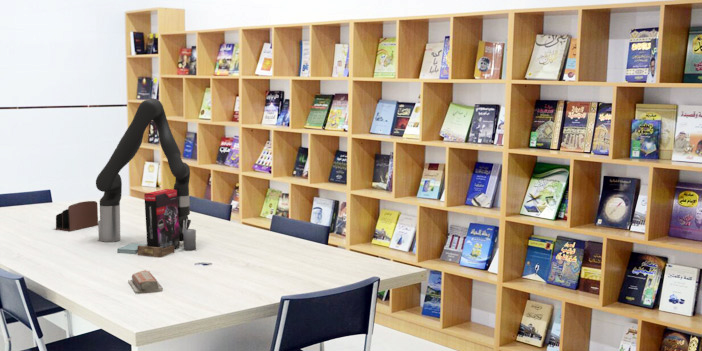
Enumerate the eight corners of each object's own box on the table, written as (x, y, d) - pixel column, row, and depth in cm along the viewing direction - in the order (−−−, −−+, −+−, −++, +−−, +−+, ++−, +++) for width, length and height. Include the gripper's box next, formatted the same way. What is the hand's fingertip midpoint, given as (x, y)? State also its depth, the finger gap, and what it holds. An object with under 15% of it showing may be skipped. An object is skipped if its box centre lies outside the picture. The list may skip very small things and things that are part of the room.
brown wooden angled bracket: (137, 254, 338) (137, 246, 338) (152, 249, 349) (151, 241, 348) (160, 257, 334) (160, 248, 334) (174, 252, 345) (174, 243, 344)
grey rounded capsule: (181, 250, 349) (180, 230, 348) (187, 247, 355) (187, 228, 354) (191, 251, 348) (191, 231, 347) (198, 248, 353) (198, 229, 352)
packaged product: (163, 279, 280) (135, 282, 276) (163, 292, 281) (135, 295, 277) (154, 268, 296) (127, 270, 292) (154, 280, 297) (127, 283, 293)
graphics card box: (158, 254, 339) (156, 193, 336) (145, 253, 341) (143, 193, 338) (180, 247, 355) (178, 189, 352) (167, 246, 357) (165, 188, 354)
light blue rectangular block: (117, 253, 342) (117, 248, 341) (132, 247, 354) (132, 242, 354) (135, 255, 340) (135, 250, 339) (149, 249, 352) (149, 244, 352)
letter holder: (98, 225, 405) (97, 199, 403) (70, 232, 387) (69, 204, 385) (84, 224, 409) (83, 198, 407) (55, 230, 391) (54, 203, 390)
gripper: (182, 202, 366) (182, 237, 369) (166, 206, 354) (167, 243, 356) (195, 203, 364) (196, 239, 366) (181, 207, 352) (181, 244, 354)
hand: (182, 241), depth 361 cm, fingers closed
